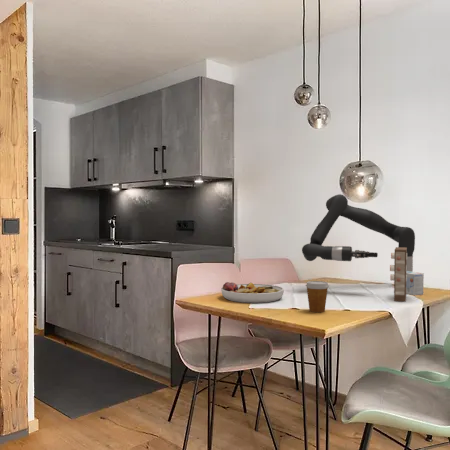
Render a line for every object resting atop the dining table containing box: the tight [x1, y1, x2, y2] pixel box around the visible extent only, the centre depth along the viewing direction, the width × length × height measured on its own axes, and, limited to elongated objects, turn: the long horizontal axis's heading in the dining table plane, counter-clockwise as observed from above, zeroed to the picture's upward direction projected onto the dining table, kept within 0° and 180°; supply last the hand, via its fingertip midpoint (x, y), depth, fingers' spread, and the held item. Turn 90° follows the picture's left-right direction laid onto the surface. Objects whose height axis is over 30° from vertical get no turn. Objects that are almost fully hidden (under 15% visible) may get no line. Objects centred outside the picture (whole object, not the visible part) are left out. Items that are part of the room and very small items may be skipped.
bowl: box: [220, 281, 285, 304], centre depth 233 cm, size 30×30×8 cm
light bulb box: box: [406, 271, 425, 296], centre depth 247 cm, size 11×7×11 cm, turn 25°
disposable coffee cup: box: [305, 280, 330, 313], centre depth 203 cm, size 10×10×12 cm
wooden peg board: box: [393, 246, 407, 303], centre depth 232 cm, size 17×5×24 cm, turn 158°
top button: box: [390, 252, 407, 260], centre depth 237 cm, size 3×7×3 cm, turn 68°
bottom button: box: [389, 273, 407, 282], centre depth 232 cm, size 3×7×3 cm, turn 68°
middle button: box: [389, 264, 407, 272], centre depth 228 cm, size 3×7×3 cm, turn 68°
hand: (377, 254), depth 240 cm, fingers closed
